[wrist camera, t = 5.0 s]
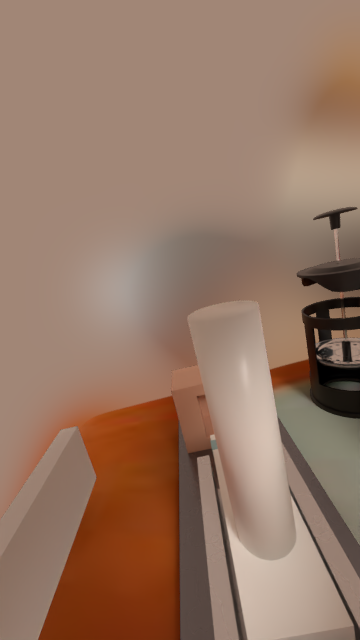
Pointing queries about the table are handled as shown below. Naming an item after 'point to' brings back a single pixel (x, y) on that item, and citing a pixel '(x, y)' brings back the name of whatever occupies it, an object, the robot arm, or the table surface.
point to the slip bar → (260, 485)
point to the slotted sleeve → (215, 552)
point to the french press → (333, 354)
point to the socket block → (192, 408)
